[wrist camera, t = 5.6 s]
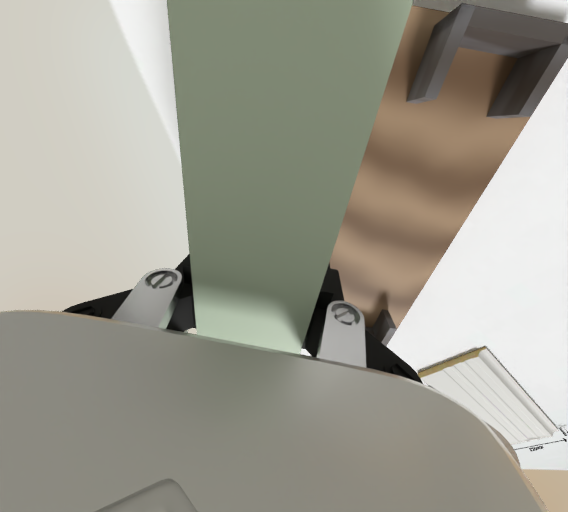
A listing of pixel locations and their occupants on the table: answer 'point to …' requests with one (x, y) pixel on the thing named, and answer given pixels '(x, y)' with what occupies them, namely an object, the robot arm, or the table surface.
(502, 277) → the table surface
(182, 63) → the slat
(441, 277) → the table surface
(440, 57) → the endcap board
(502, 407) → the baseboard molding
